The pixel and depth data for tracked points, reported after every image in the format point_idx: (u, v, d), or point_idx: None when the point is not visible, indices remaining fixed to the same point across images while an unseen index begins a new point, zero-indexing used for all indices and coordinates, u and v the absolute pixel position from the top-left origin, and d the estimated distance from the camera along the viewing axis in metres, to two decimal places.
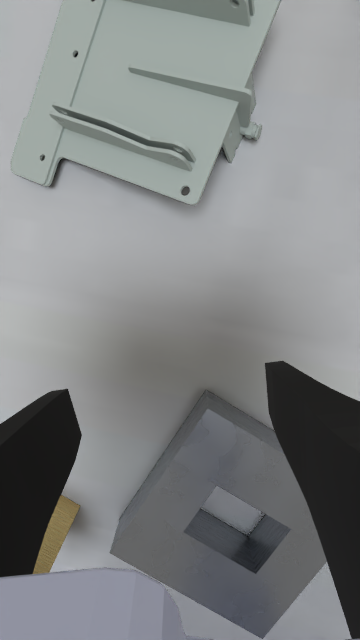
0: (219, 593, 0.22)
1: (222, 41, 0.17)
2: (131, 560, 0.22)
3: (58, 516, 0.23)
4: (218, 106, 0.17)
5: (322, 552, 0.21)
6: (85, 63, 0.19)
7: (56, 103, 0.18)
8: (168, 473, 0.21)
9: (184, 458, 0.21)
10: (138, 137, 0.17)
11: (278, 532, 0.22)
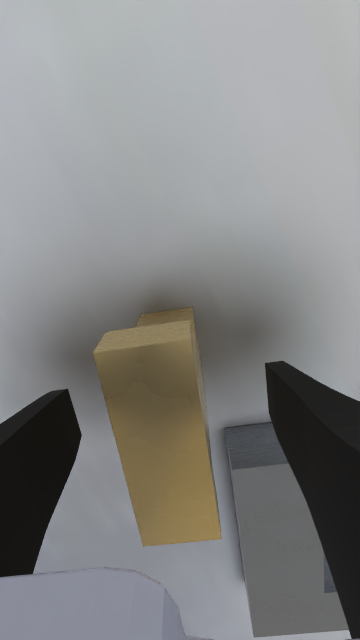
0: (273, 582, 0.17)
1: None
2: (242, 494, 0.16)
3: (202, 379, 0.15)
4: None
5: None
6: None
7: None
8: None
9: None
10: None
11: None
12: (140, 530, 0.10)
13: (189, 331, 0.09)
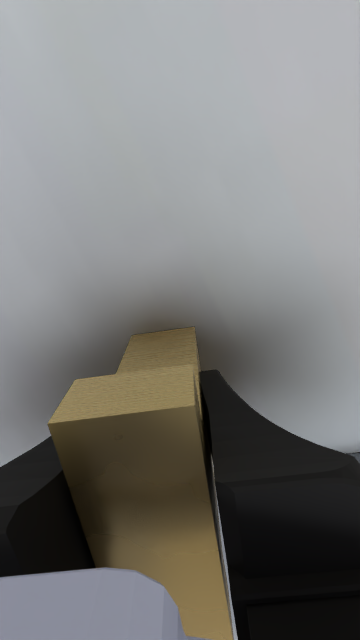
0: None
1: None
2: None
3: None
4: None
5: None
6: None
7: None
8: None
9: None
10: None
11: None
12: None
13: (192, 387, 0.06)
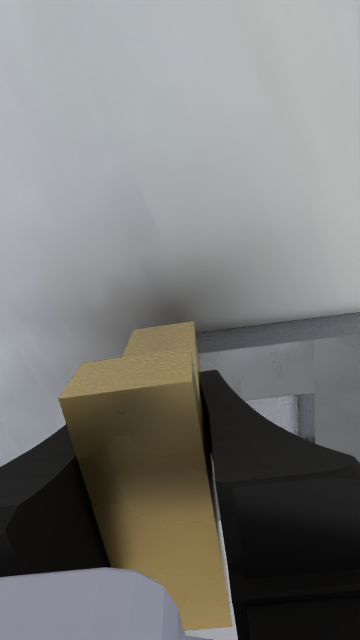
0: None
1: None
2: None
3: None
4: None
5: None
6: None
7: None
8: (295, 346, 0.17)
9: (322, 348, 0.18)
10: None
11: None
12: None
13: (190, 366, 0.07)
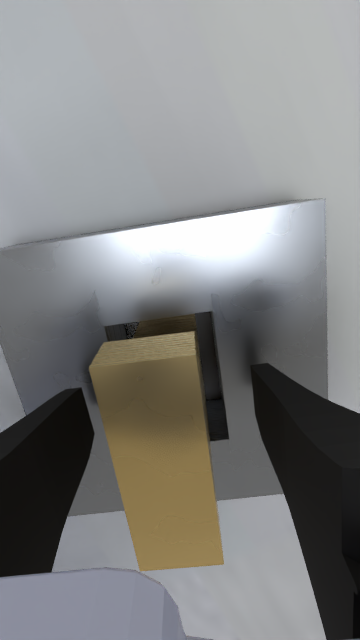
0: None
1: None
2: None
3: None
4: None
5: (229, 488, 0.14)
6: None
7: None
8: (173, 231, 0.11)
9: (216, 233, 0.11)
10: None
11: None
12: (137, 554, 0.10)
13: (194, 345, 0.08)
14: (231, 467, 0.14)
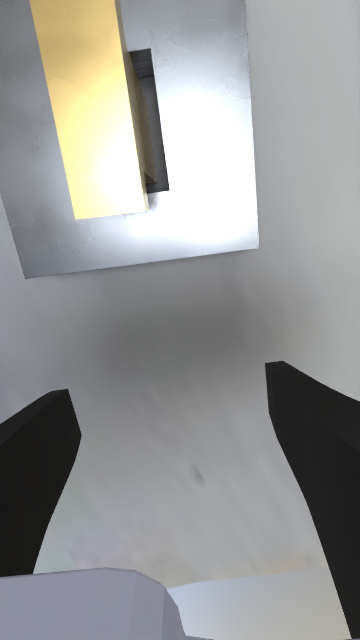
0: (28, 184, 0.16)
1: None
2: None
3: (150, 156, 0.16)
4: None
5: (171, 246, 0.16)
6: None
7: None
8: None
9: None
10: None
11: None
12: (72, 197, 0.12)
13: None
14: (172, 222, 0.16)
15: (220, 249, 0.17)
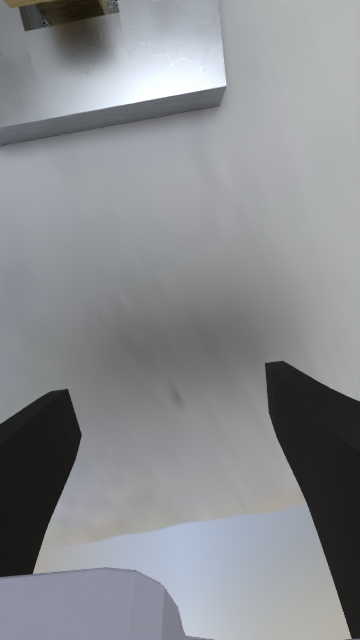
0: None
1: None
2: None
3: None
4: None
5: (125, 87, 0.14)
6: None
7: None
8: None
9: None
10: None
11: None
12: None
13: None
14: (125, 55, 0.14)
15: (181, 89, 0.14)
